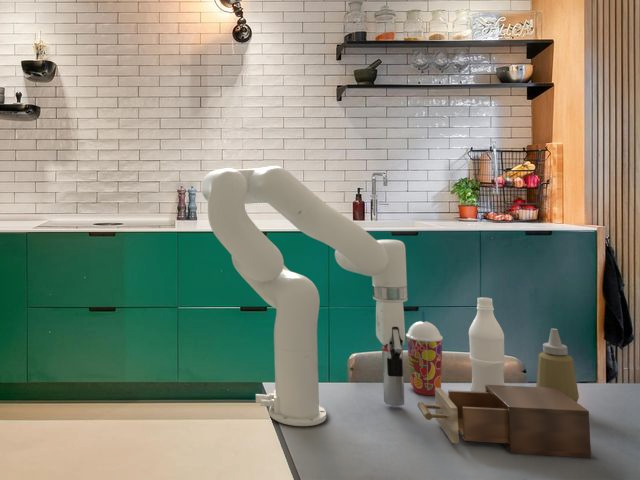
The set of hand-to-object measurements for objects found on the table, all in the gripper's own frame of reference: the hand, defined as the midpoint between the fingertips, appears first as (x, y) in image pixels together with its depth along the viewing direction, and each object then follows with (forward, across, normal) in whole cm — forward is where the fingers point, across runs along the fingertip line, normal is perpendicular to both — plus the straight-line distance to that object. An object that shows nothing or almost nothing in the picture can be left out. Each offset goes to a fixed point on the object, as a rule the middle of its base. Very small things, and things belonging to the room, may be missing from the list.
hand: (392, 371), depth 130 cm
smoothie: (+8, -12, +10) cm, 18 cm away
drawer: (+7, +14, +11) cm, 19 cm away
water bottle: (+9, -2, +21) cm, 23 cm away
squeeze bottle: (+9, -4, +36) cm, 37 cm away
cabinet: (+8, +14, +24) cm, 29 cm away
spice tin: (+7, 0, 0) cm, 7 cm away
